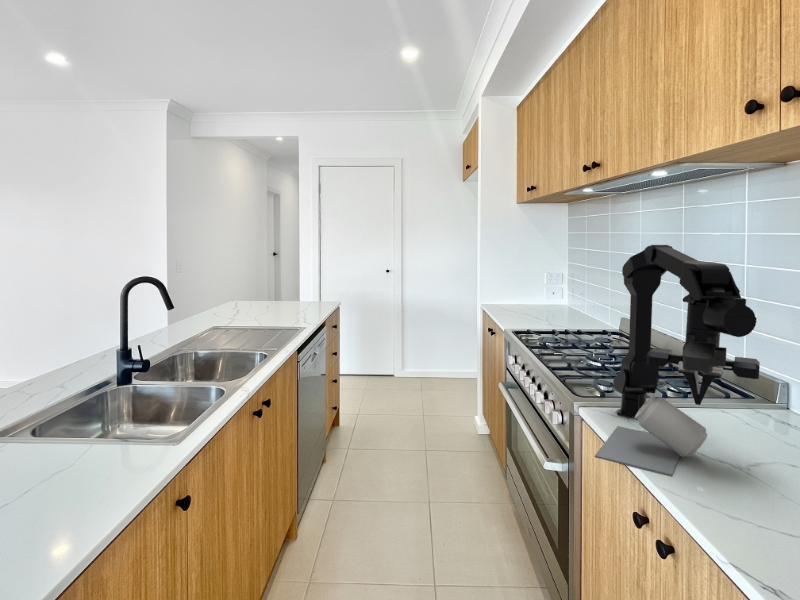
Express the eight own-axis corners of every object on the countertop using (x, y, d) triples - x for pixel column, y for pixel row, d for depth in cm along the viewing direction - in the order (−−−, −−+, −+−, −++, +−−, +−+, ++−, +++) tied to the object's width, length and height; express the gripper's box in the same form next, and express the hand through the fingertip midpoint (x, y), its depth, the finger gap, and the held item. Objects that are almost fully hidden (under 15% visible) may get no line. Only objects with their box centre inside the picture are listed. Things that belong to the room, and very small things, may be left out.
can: (697, 454, 93) (640, 413, 98) (680, 463, 100) (627, 424, 104) (715, 426, 96) (659, 387, 100) (697, 436, 102) (645, 399, 107)
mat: (617, 427, 115) (617, 426, 115) (685, 441, 107) (685, 439, 107) (594, 457, 99) (594, 455, 99) (672, 476, 91) (672, 474, 91)
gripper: (643, 328, 94) (638, 406, 96) (762, 339, 83) (755, 426, 85) (653, 321, 103) (649, 392, 105) (762, 330, 92) (755, 409, 94)
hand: (698, 404), depth 97 cm, fingers closed
